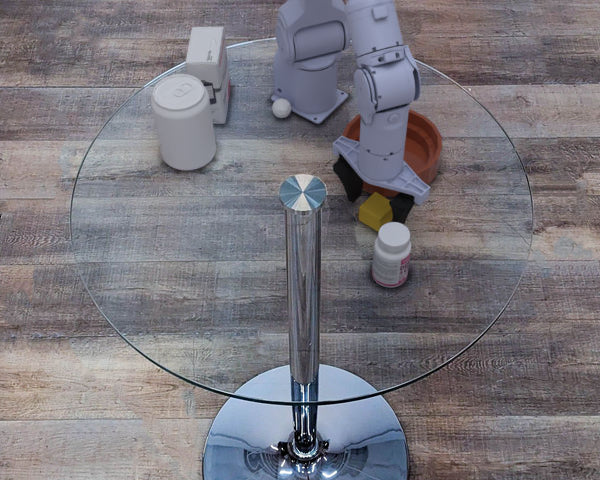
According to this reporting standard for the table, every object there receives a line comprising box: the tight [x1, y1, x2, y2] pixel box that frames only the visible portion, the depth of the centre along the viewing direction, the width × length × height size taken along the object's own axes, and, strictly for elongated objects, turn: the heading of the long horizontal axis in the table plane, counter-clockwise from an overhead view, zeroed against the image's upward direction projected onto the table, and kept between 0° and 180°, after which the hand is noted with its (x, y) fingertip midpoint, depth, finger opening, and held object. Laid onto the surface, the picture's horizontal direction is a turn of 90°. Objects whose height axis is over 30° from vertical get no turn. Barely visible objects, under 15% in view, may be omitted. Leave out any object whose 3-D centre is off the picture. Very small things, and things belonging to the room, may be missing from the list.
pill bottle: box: [371, 221, 412, 288], centre depth 112 cm, size 5×5×8 cm
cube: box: [358, 192, 393, 233], centre depth 120 cm, size 4×4×3 cm
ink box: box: [184, 26, 231, 125], centre depth 130 cm, size 8×5×12 cm, turn 177°
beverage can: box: [150, 73, 217, 171], centre depth 124 cm, size 8×8×12 cm
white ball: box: [271, 98, 292, 119], centre depth 132 cm, size 3×3×3 cm
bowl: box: [341, 109, 443, 198], centre depth 126 cm, size 14×14×4 cm
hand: (376, 211), depth 120 cm, fingers open, 7 cm apart
